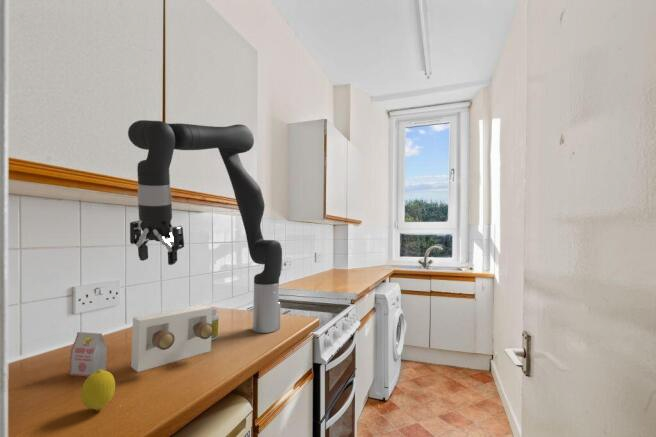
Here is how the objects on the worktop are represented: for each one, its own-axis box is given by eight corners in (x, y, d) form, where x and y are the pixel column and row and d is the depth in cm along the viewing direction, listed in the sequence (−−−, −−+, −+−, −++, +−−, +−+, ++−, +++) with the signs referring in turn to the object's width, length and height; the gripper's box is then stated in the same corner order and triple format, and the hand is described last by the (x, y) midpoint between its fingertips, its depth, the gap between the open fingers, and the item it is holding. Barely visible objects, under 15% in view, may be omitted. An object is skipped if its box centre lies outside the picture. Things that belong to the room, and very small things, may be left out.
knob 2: (203, 332, 95) (203, 318, 95) (213, 337, 91) (214, 321, 91) (189, 336, 91) (189, 320, 92) (199, 341, 87) (199, 325, 88)
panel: (202, 346, 99) (204, 304, 100) (210, 350, 96) (212, 307, 96) (131, 366, 84) (133, 317, 85) (137, 372, 81) (139, 320, 81)
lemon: (117, 409, 64) (119, 369, 64) (83, 421, 60) (85, 378, 60) (110, 399, 67) (111, 361, 68) (77, 410, 63) (79, 369, 64)
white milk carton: (83, 368, 83) (84, 329, 83) (105, 370, 82) (107, 331, 82) (69, 374, 79) (71, 334, 79) (93, 377, 78) (94, 335, 78)
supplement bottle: (212, 341, 104) (213, 311, 104) (197, 340, 105) (198, 310, 106) (220, 336, 109) (221, 307, 110) (206, 335, 110) (207, 307, 111)
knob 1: (165, 342, 86) (165, 325, 87) (174, 347, 82) (175, 330, 83) (147, 346, 83) (148, 329, 83) (156, 352, 79) (157, 334, 79)
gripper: (189, 202, 83) (190, 260, 86) (142, 197, 86) (145, 254, 89) (169, 207, 76) (172, 270, 79) (119, 201, 78) (123, 262, 82)
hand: (157, 261), depth 84 cm, fingers open, 8 cm apart
